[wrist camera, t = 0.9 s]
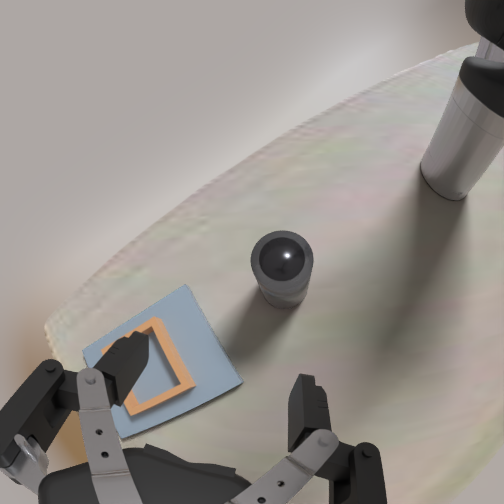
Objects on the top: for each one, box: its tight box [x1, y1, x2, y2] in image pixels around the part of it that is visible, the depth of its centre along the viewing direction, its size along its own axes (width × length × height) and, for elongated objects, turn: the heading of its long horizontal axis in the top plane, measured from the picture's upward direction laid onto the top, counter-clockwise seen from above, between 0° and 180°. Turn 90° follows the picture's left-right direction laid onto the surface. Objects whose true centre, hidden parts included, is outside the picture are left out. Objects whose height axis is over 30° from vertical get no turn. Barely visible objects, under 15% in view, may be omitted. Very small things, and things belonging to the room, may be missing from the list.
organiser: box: [82, 284, 244, 439], centre depth 28 cm, size 18×13×3 cm
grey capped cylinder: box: [251, 231, 313, 309], centre depth 27 cm, size 5×5×9 cm
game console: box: [475, 36, 504, 62], centre depth 35 cm, size 6×27×20 cm, turn 113°
